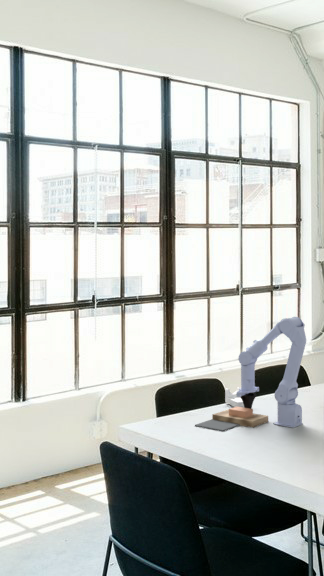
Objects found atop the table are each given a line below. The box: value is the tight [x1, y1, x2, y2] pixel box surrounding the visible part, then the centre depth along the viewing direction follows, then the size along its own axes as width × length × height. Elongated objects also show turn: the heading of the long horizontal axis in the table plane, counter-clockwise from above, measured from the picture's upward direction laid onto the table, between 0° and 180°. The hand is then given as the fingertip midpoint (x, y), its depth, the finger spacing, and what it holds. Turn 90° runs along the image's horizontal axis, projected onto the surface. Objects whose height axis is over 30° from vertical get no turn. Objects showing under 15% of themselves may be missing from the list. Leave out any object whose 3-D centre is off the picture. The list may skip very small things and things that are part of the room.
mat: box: [194, 419, 241, 432], centre depth 277 cm, size 14×12×1 cm
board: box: [211, 408, 269, 428], centre depth 284 cm, size 20×12×2 cm, turn 50°
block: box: [228, 406, 254, 418], centre depth 284 cm, size 8×6×2 cm
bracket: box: [224, 386, 244, 408], centre depth 313 cm, size 13×7×8 cm, turn 19°
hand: (248, 410), depth 289 cm, fingers closed
